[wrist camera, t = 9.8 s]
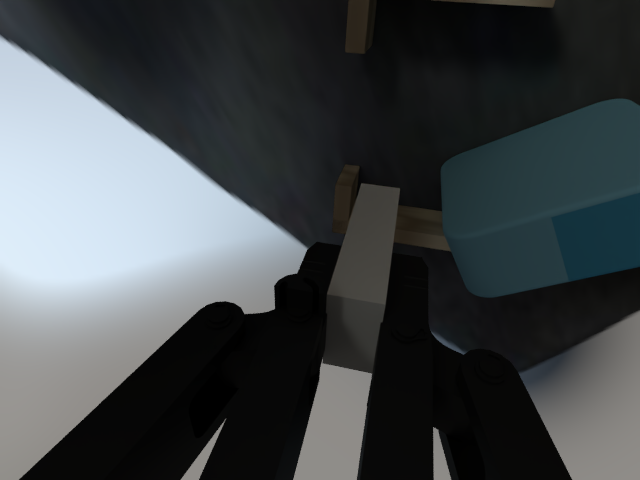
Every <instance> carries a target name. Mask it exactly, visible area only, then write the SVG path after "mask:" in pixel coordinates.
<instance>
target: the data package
mask: <svg viewBox="0 0 640 480" xmlns="http://www.w3.org/2000/svg"><path fill="white" fill-rule="evenodd" d="M441 197H442V224H443V233H444V236H445V238H446V240H447V243H448V245H449V248H450V250H451V252H452V255H453V257H454V260H455V262H456V264H457V267H458V269H459V272H460V274H461V276H462V279H463V281H464V284H465V286H466V288H467V289H468V291H470V292H471V293H472V294H474V295H476V296H479V297H486V298H492V297H499V296H504V295H509V294H513V293H518V292H523V291H528V290H532V289H537V288H542V287H547V286H551V285H556V284H561V283H566V282H570V281H575V280H580V279H585V278H589V277H594V276H599V275H604V274H608V273H613V272H618V271H623V270H627V269H632V268H637V267H640V106H639V105H637V104H636V103H634V102H633V101H631V100H628V99H611V100H606V101H602V102H598V103H595V104H592V105H590V106H587V107H584V108H582V109H579V110H576V111H574V112H571V113H568V114H565V115H563V116H560V117H557V118H555V119H552V120H549V121H547V122H544V123H541V124H539V125H536V126H533V127H530V128H528V129H525V130H522V131H520V132H517V133H514V134H512V135H509V136H506V137H503V138H501V139H498V140H495V141H493V142H490V143H487V144H485V145H482V146H479V147H477V148H474V149H471V150H468V151H466V152H463V153H460V154H458V155H456V156H454V157H452V158H450V159H449V160H447V161H446V162H445V163H444V164H443V165H442V167H441Z"/></svg>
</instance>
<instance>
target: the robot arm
mask: <svg viewBox="0 0 640 480" xmlns="http://www.w3.org/2000/svg"><path fill="white" fill-rule="evenodd" d="M399 194H400V188H394V187H386V186H379V185H371V184H363V183H361V186H360V189H359V193H358V196H357V199H356V202H355V206H354V209H353V212H352V215H351V218H350V222H349V225H348V228H347V231H346V235H345V238H344V241H343V244H342V246H339V245H333V244H326V243H320V242H316V243H315V244H314V245H313V246H311V247H310V248H309V249H308V250H307V252H306V254H305V257H304V259H303V261H302V264H301V266H300V269H299V271H298V273H297V274H293V275H288V276H285V277H284V278H282V279H280V280H279V281H278V282H277V283H276V285H275V286H274V290H275V309H274V310H272V311H269V312H264V313H256V314H244V313H243V311H242V309H241V307H239V306H237V305H236V304H234V303H230V302H226V301H225V302H215V303H212V304H209V305H206V306H205V307H203V308H202V309H200V310H199V311H198V312H197V313H196V314H195V315H194V316H193V317H192V318H191V319H189V320H188V321H187V322H186V323H185V324H184V325H183V326H182V327H181V328H180V329H179V330H178V331H177V332H176V333H175V334H173V335H172V336H171V337H170V338H169V339H168V340H167V341H166V342H165V343H164V344H163V345H162V346H161V347H160V348H159V349H157V350H156V352H154V353H153V354H152V355H151V356H150V357H149V358H148V359H147V360H146V361H145V362H144V363H143V364H142V365H141V366H140V367H138V368H137V369H136V370H135V371H134V372H133V373H132V374H131V375H130V376H129V377H128V378H127V379H126V380H125V381H123V383H121V385H119V386H118V387H117V388H116V389H115V390H114V391H113V392H112V393H111V394H110V395H109V396H108V397H106V398H105V399H104V400H103V401H102V402H101V403H100V404H99V405H98V406H97V407H96V408H95V409H94V410H93V411H92V412H91V413H90V414H88V416H86V417H85V418H84V420H82V421H81V422H80V423H79V424H78V425H77V426H76V427H75V428H74V429H72V430H71V431H70V432H69V433H68V434H67V435H66V436H65V437H64V438H63V439H62V440H61V441H60V442H59V443H58V444H57V445H55V446H54V447H53V448H52V449H51V450H50V451H49V452H48V453H47V454H46V455H45V456H44V457H43V458H42V459H41V460H40V461H38V462H37V463H36V464H35V465H34V466H33V467H32V468H31V469H30V470H29V471H28V472H27V473H26V474H25V475H24V476H23V477H22V478H20V479H19V480H181V478H182V477H183V476H184V474H185V473H186V471H187V470H188V469H189V468H190V466H191V464H192V463H193V462H194V461H195V459H196V458H197V457H198V455H199V454H200V453H201V451H202V450H203V448H204V447H205V446H206V445H207V443H208V442H209V441H210V439H211V438H212V437H213V435H214V434H215V432H216V431H217V430H218V428H219V427H220V425H221V424H222V423H223V422H224V420H225V419H226V420H225V423H224V425H223V427H222V430H221V432H220V434H219V436H218V438H217V440H216V443H215V445H214V447H213V449H212V452H211V454H210V456H209V459H208V461H207V463H206V465H205V467H204V470H203V472H202V474H201V476H200V479H199V480H293V478H294V474H295V470H296V466H297V463H298V458H299V455H300V451H301V447H302V444H303V439H304V436H305V432H306V428H307V424H308V420H309V417H310V413H311V409H312V405H313V401H314V397H315V394H316V389H317V386H318V382H319V375H320V366H321V362H322V359H323V363H324V364H329V365H335V366H339V367H344V368H349V369H353V370H358V371H363V372H368V373H372V380H371V385H370V391H369V396H368V403H367V412H366V419H365V426H364V433H363V441H362V447H361V454H360V461H359V469H358V476H357V480H434V478H433V427H434V428H436V429H438V430H439V436H440V439H441V443H442V447H443V450H444V454H445V457H446V461H447V465H448V469H449V472H450V476H451V480H572V479H571V477H570V475H569V473H568V471H567V469H566V467H565V465H564V463H563V461H562V459H561V457H560V455H559V453H558V451H557V449H556V447H555V445H554V443H553V441H552V439H551V437H550V435H549V433H548V431H547V429H546V427H545V425H544V423H543V421H542V419H541V417H540V415H539V413H538V412H537V409H536V407H535V405H534V403H533V401H532V399H531V397H530V395H529V393H528V391H527V389H526V387H525V386H524V384H523V382H522V380H521V378H520V376H519V374H518V372H517V370H516V369H515V367H514V366H513V365H512V363H511V362H510V361H508V360H507V359H506V358H504V357H503V356H502V355H500V354H498V353H495V352H493V351H491V350H485V349H475V350H470V351H469V352H467V353H466V354H464V355H463V354H461V353H459V352H456V351H454V350H452V349H450V348H448V347H446V346H444V345H443V344H442V343H440V342H439V341H438V340H437V339H436V338H435V337H434V336H433V334H432V333H431V331H430V329H429V324H428V267H427V265H426V264H425V262H424V260H423V259H422V257H415V256H409V255H403V254H396V253H392V249H393V241H394V233H395V226H396V218H397V210H398V202H399Z"/></svg>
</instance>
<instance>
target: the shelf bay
mask: <svg viewBox="0 0 640 480" xmlns="http://www.w3.org/2000/svg"><path fill="white" fill-rule="evenodd" d="M433 1H450V2H467V3H484V4H501V5H518V6H534V7H551V8H553V6H554V2H555V0H433ZM376 5H377V0H349V2H348V16H347V30H346V44H345V52H348V53H360V54H364V53H365V52H366V51H367V50H368V49H369V48H370V47H371V46H372V43H373V33H374V24H375V14H376ZM359 168H360V166H354V165H347V164H345V166H344V168H343V170H342V172H341V174H340V176H339V178H338V180H337V183H336V186H335V200H334V214H333V228H332V232H335V233H341V234H346V231H347V228H348V225H349V222H350V218H351V215H352V212H353V209H354V206H355V202H356V196H357V187H358V177H359ZM393 242H396V243H403V244H409V245H415V246H421V247H427V248H433V249H439V250H446V251H451V250H450V248H449V245H448V243H447V240H446V238H445V236H444V233H443V224H442V211H436V210H430V209H423V208H416V207H409V206H402V205H398V210H397V218H396V226H395V233H394V241H393Z"/></svg>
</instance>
